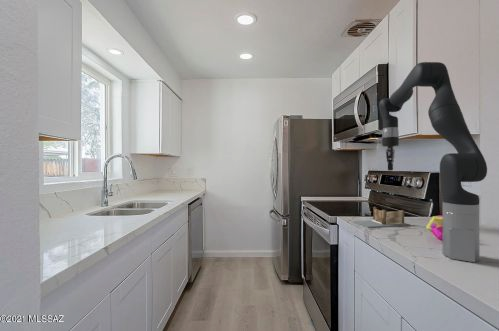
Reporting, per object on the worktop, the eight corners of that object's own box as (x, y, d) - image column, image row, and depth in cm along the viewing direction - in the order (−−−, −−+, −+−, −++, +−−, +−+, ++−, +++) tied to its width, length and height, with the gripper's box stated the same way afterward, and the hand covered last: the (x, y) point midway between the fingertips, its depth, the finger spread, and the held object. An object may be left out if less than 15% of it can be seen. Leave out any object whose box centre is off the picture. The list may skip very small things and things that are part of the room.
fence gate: (384, 222, 130) (384, 209, 130) (380, 222, 130) (380, 209, 130) (375, 218, 139) (375, 206, 139) (372, 218, 139) (372, 206, 139)
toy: (423, 243, 101) (437, 223, 96) (422, 222, 115) (434, 203, 111) (453, 257, 97) (469, 236, 92) (448, 233, 111) (462, 214, 107)
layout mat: (368, 227, 123) (368, 226, 123) (353, 222, 135) (353, 221, 135) (410, 225, 127) (409, 224, 127) (392, 220, 139) (392, 219, 139)
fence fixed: (383, 225, 127) (383, 210, 127) (380, 225, 129) (380, 209, 129) (405, 224, 129) (405, 209, 129) (402, 224, 131) (402, 209, 131)
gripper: (397, 135, 127) (397, 170, 127) (399, 137, 138) (399, 170, 138) (380, 136, 131) (380, 170, 131) (383, 138, 142) (383, 170, 142)
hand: (390, 170), depth 135 cm, fingers closed
